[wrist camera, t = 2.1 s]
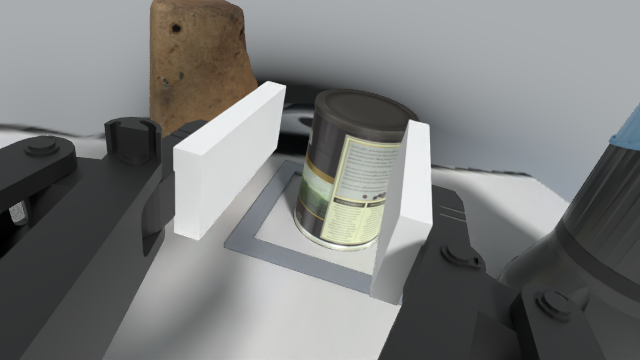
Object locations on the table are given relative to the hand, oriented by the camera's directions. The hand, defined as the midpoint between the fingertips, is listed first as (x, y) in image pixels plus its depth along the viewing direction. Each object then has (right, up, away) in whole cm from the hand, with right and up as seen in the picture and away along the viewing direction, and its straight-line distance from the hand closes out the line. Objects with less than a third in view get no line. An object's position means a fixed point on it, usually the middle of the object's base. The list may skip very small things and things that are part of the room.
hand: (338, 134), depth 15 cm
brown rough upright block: (-15, -2, +31) cm, 34 cm away
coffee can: (+1, -7, +29) cm, 30 cm away
